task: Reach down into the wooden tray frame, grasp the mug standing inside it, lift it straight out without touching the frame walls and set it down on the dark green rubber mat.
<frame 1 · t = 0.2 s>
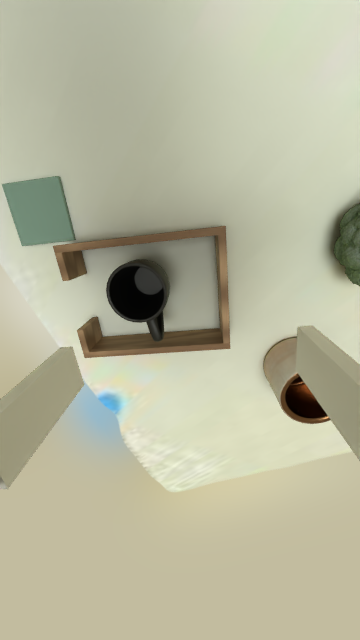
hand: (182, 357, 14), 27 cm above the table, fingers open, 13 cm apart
wooden tray frame: (153, 290, 41), on the table
mat: (41, 213, 38), on the table
planter: (292, 361, 44), on the table
mug: (153, 289, 41), resting in wooden tray frame
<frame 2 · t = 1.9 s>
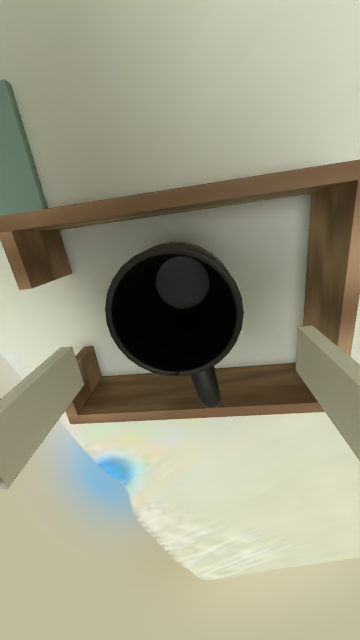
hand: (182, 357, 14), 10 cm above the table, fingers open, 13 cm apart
wooden tray frame: (188, 301, 23), on the table
mug: (188, 300, 24), resting in wooden tray frame
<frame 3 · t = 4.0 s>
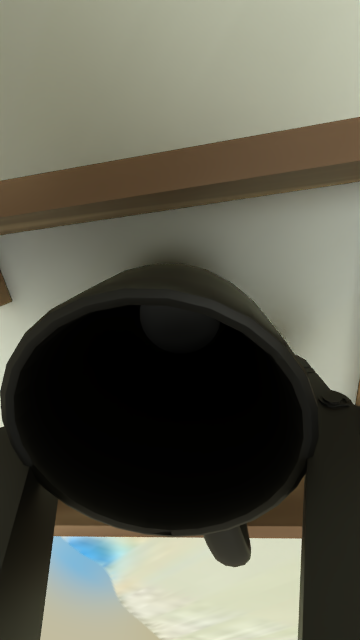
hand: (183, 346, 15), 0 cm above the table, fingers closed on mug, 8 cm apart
wooden tray frame: (187, 342, 16), on the table
mug: (189, 340, 16), resting in wooden tray frame, touching gripper
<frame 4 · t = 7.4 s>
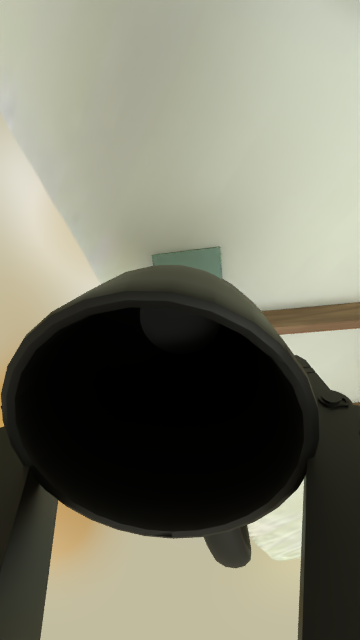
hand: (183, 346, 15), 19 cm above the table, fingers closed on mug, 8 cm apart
wooden tray frame: (303, 363, 36), on the table
mat: (189, 284, 33), on the table
mug: (189, 341, 16), point 18 cm above the table, touching gripper
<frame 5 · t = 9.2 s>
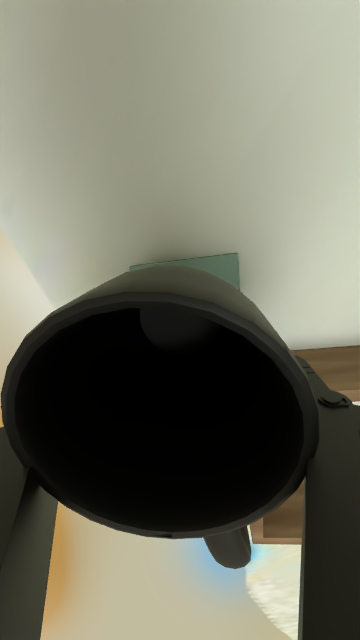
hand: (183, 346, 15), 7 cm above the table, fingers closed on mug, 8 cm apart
wooden tray frame: (357, 422, 25), on the table
mat: (188, 310, 22), on the table
mug: (189, 341, 16), point 6 cm above the table, touching gripper
when the fingers open (2 cm above the table, at t = 10.9 s): mug drops 1 cm, resting on mat.
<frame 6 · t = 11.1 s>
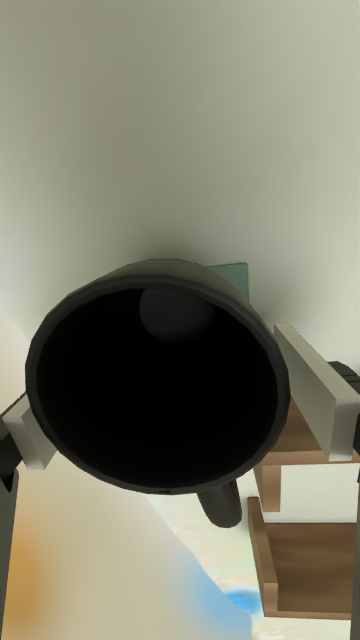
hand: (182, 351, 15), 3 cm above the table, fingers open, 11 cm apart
mat: (185, 332, 17), on the table
mug: (186, 333, 17), resting on mat
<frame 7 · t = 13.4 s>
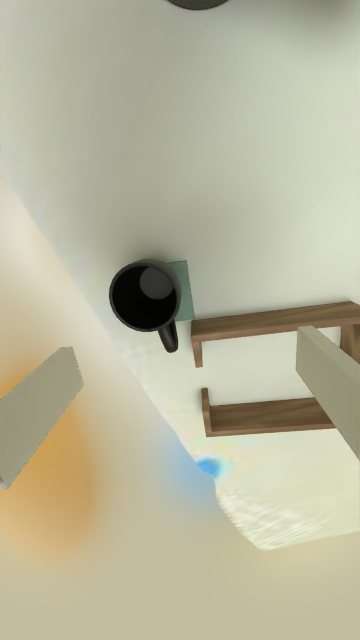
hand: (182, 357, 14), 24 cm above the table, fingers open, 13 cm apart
wooden tray frame: (270, 362, 40), on the table
mat: (161, 294, 37), on the table
mug: (162, 294, 36), resting on mat
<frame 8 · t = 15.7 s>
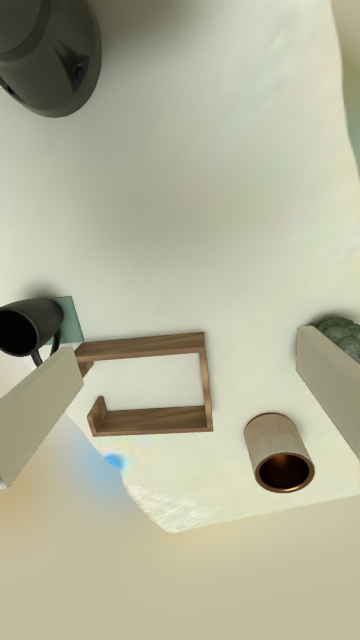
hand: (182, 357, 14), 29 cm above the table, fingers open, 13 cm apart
wooden tray frame: (149, 377, 49), on the table
mat: (56, 321, 46), on the table
vegetable: (329, 343, 44), on the table
planter: (269, 430, 52), on the table
mug: (55, 321, 45), resting on mat
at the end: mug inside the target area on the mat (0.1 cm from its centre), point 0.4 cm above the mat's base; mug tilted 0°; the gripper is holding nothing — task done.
